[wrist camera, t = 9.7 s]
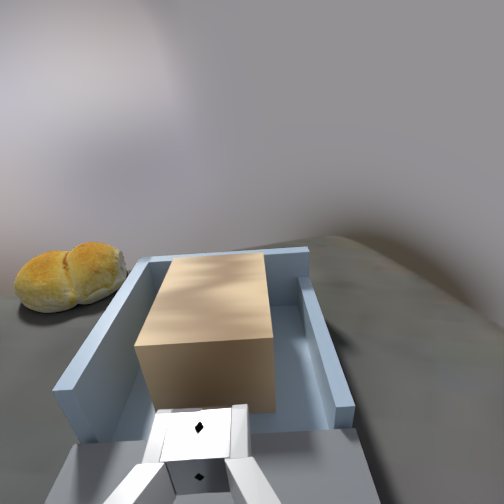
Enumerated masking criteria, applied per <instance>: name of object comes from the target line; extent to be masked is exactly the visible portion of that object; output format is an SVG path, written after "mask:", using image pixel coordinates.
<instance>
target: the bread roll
mask: <svg viewBox="0 0 504 504" xmlns="http://www.w3.org/2000/svg"><path fill="white" fill-rule="evenodd" d="M126 276H127V273H126V264H125V261H124V256H123V253H122V252H121V251H119V250H117V249H116V248H114V247H112V246H110V245H107V244H104V243H98V242H88V243H83V244H80V245H78V246H77V247H75V248H74V249H73V250H71V251H70V252H66V251H49V252H46V253H43V254H41V255H39V256H37V257H34V258H33V259H32V260H30V261H29V262H28V263H26V264H25V265H24V266H23V268H22V269H21V270H20V272H19V273H18V275H17V277H16V279H15V283H14V289H15V293H16V295H17V296H18V297H19V299H20V301H21V302H22V303H23V305H24V306H26V307H27V308H29V309H32V310H34V311H38V312H42V313H53V312H59V311H64V310H68V309H71V308H73V307H75V306H76V305H77V304H91V303H94V302H96V301H98V300H101V299H103V298H105V297H107V296H109V295H110V294H112V293H113V292H115V291H116V290H118V289H119V288H120V287H121V286H122V285H123V283H124V282H125V280H126Z"/></svg>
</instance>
